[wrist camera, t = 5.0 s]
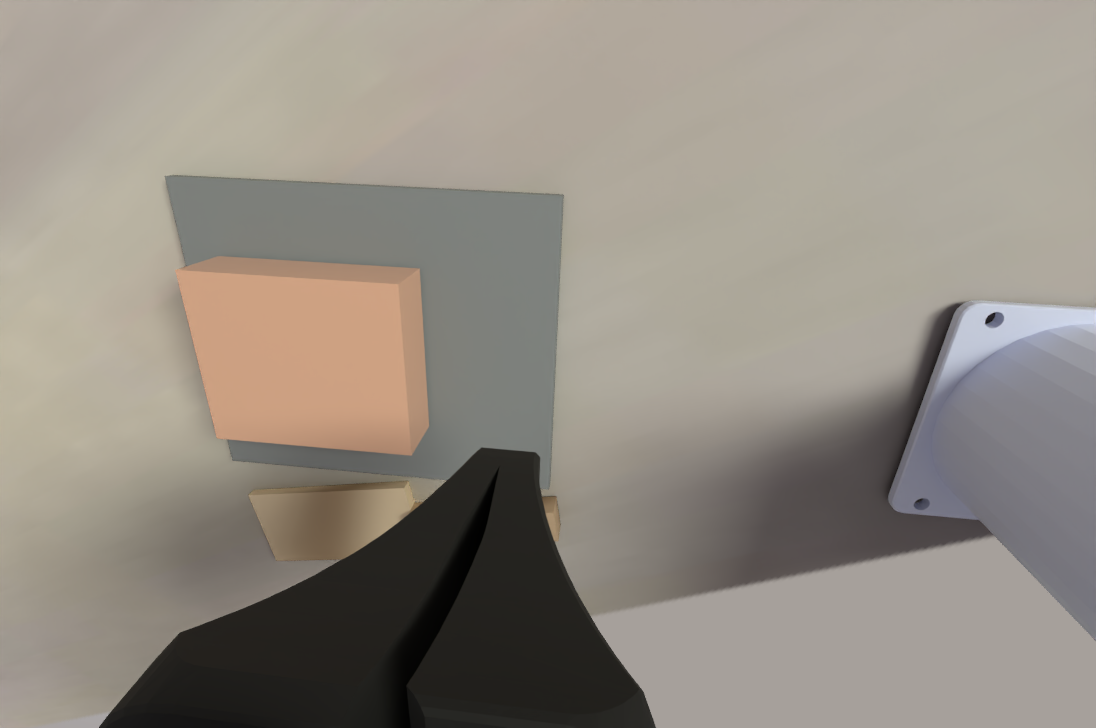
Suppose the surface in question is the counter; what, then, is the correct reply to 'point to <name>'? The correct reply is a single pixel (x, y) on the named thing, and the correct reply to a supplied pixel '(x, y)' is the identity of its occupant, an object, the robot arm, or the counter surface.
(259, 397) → the tile
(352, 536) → the wooden cleaver
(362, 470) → the mat
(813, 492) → the counter surface
